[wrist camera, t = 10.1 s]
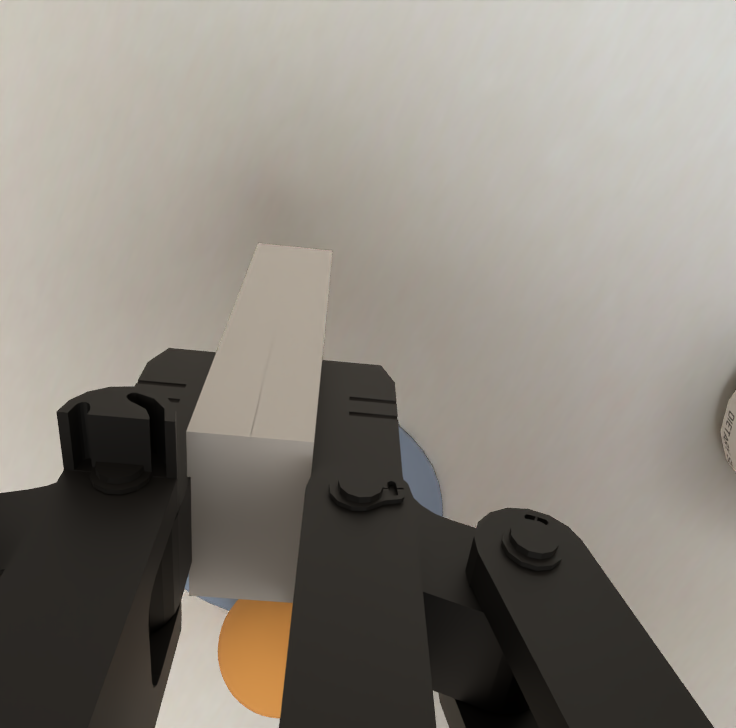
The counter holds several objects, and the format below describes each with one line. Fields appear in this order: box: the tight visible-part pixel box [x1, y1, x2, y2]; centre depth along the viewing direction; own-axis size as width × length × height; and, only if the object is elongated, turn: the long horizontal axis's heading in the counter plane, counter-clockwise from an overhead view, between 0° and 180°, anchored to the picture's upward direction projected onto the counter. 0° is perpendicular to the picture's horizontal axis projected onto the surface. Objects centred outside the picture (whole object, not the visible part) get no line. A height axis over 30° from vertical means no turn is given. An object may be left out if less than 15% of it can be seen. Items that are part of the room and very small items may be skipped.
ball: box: [218, 599, 293, 718], centre depth 29 cm, size 6×6×6 cm
